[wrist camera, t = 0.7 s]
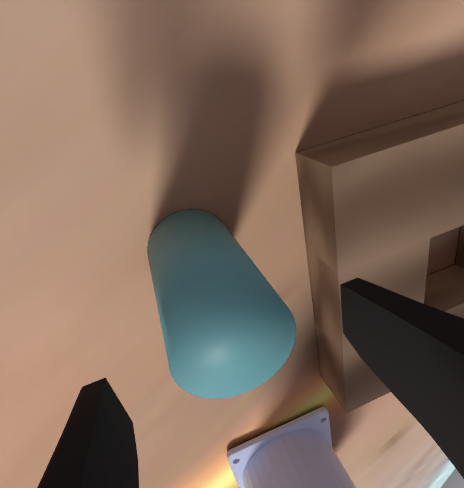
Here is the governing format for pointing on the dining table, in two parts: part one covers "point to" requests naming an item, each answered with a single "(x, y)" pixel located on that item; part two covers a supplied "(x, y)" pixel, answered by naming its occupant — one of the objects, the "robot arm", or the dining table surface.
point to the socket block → (381, 228)
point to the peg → (215, 308)
